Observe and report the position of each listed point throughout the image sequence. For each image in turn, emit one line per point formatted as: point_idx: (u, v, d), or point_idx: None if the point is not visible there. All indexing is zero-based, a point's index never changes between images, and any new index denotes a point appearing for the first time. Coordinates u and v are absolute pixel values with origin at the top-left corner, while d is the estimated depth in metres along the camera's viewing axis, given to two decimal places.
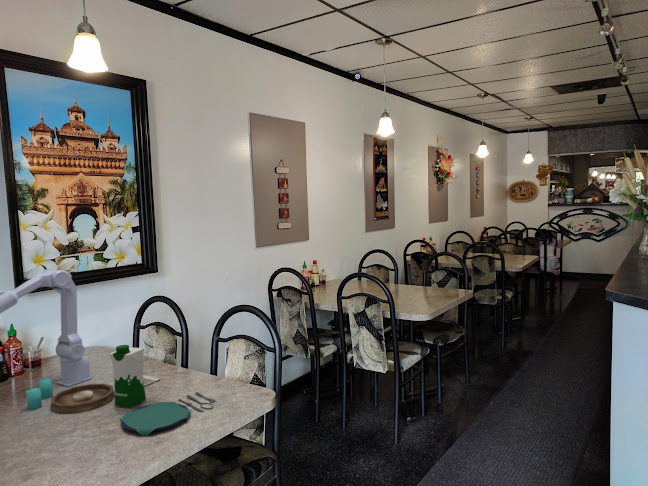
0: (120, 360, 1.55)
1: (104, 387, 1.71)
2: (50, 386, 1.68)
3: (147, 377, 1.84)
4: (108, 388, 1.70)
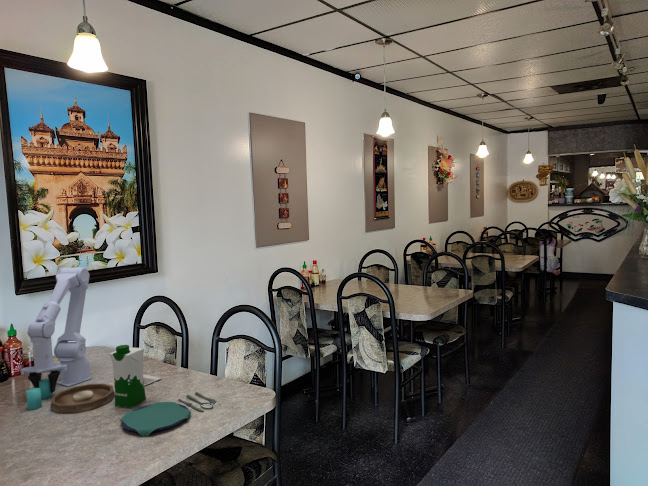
0: (120, 360, 1.55)
1: (104, 387, 1.71)
2: None
3: (148, 377, 1.85)
4: (108, 388, 1.70)
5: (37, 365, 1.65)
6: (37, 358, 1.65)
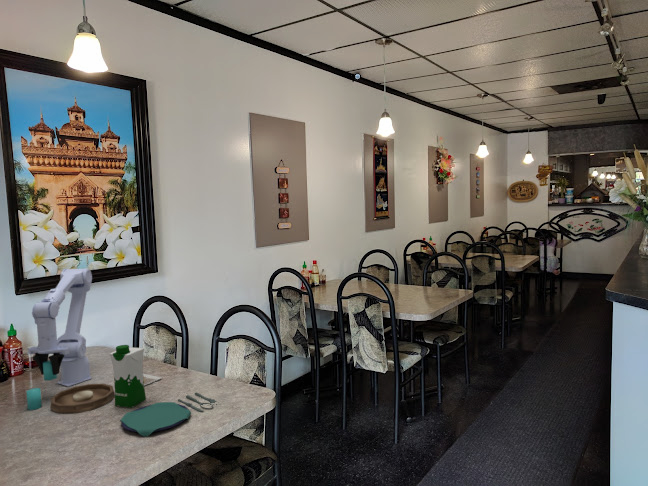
0: (120, 360, 1.55)
1: (104, 387, 1.71)
2: None
3: (149, 376, 1.85)
4: (108, 388, 1.70)
5: (40, 346, 1.64)
6: (39, 339, 1.64)
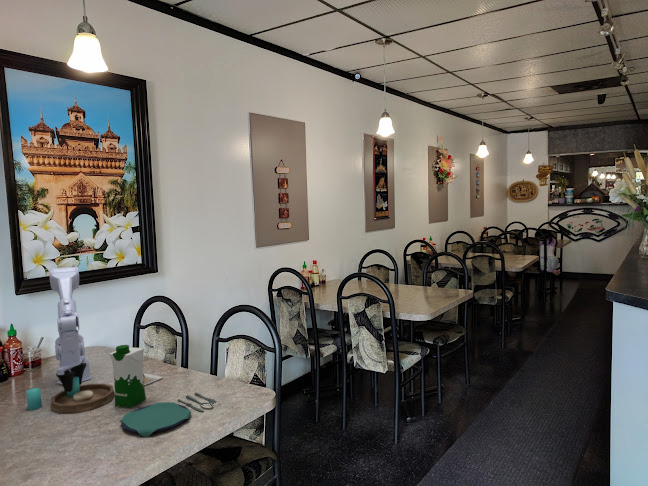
0: (120, 360, 1.55)
1: (104, 387, 1.71)
2: None
3: (150, 376, 1.86)
4: (108, 388, 1.70)
5: None
6: None
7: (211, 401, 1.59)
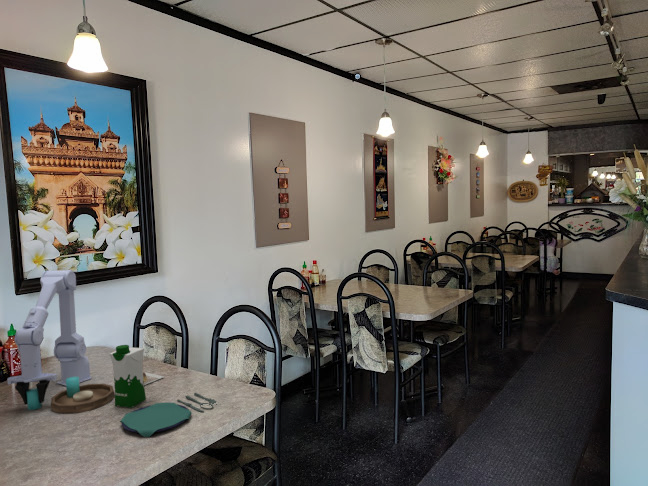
0: (120, 360, 1.55)
1: (104, 387, 1.71)
2: (68, 386, 1.64)
3: (151, 375, 1.86)
4: (108, 388, 1.70)
5: (25, 374, 1.56)
6: (25, 367, 1.55)
7: (211, 401, 1.59)
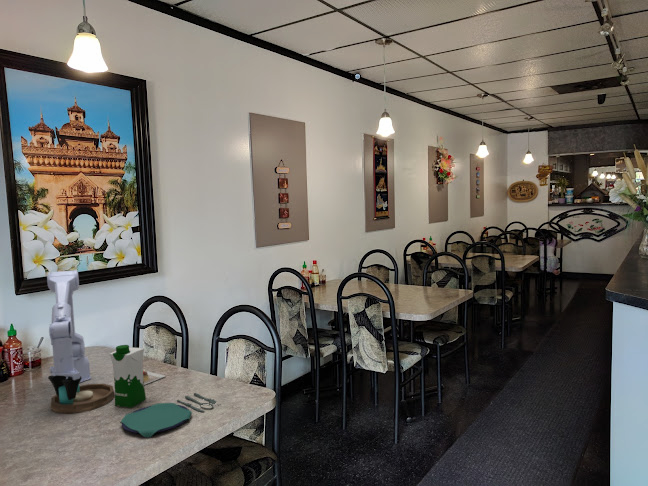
0: (120, 360, 1.55)
1: (104, 387, 1.71)
2: None
3: (153, 374, 1.87)
4: (108, 388, 1.70)
5: (54, 367, 1.56)
6: None
7: (211, 401, 1.59)
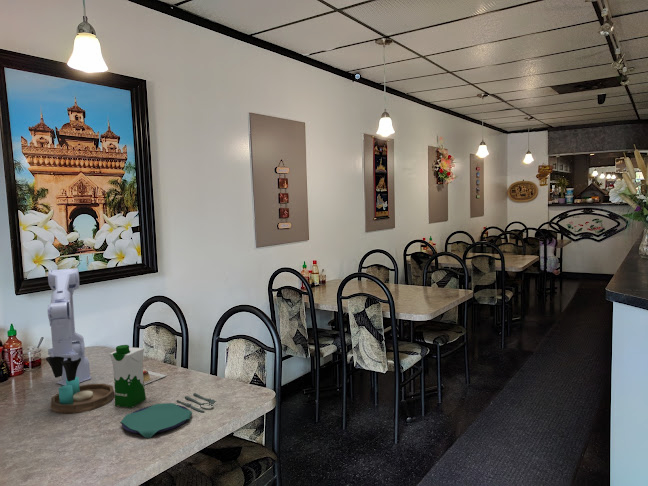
0: (120, 360, 1.55)
1: (104, 387, 1.71)
2: None
3: (154, 374, 1.88)
4: (108, 388, 1.70)
5: (52, 348, 1.55)
6: (52, 341, 1.55)
7: (211, 401, 1.58)
